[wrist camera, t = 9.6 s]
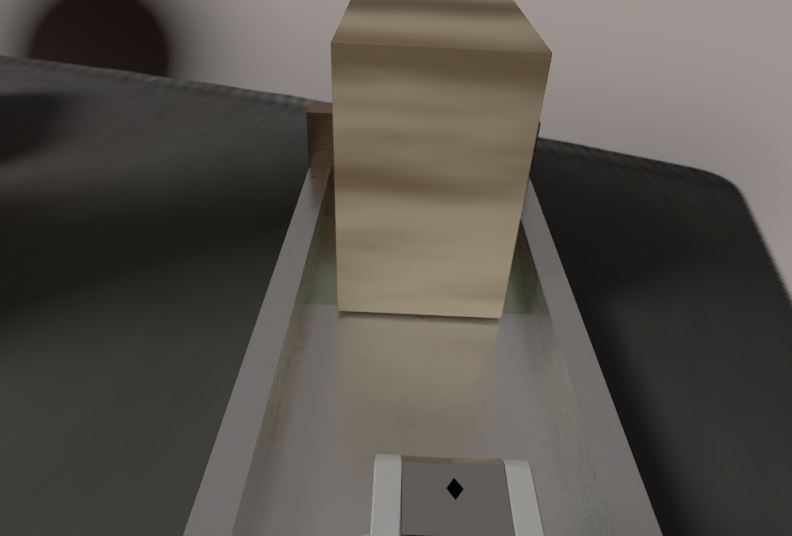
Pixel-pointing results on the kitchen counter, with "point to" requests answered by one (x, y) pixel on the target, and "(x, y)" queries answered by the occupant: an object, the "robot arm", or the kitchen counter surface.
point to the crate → (432, 151)
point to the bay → (412, 392)
